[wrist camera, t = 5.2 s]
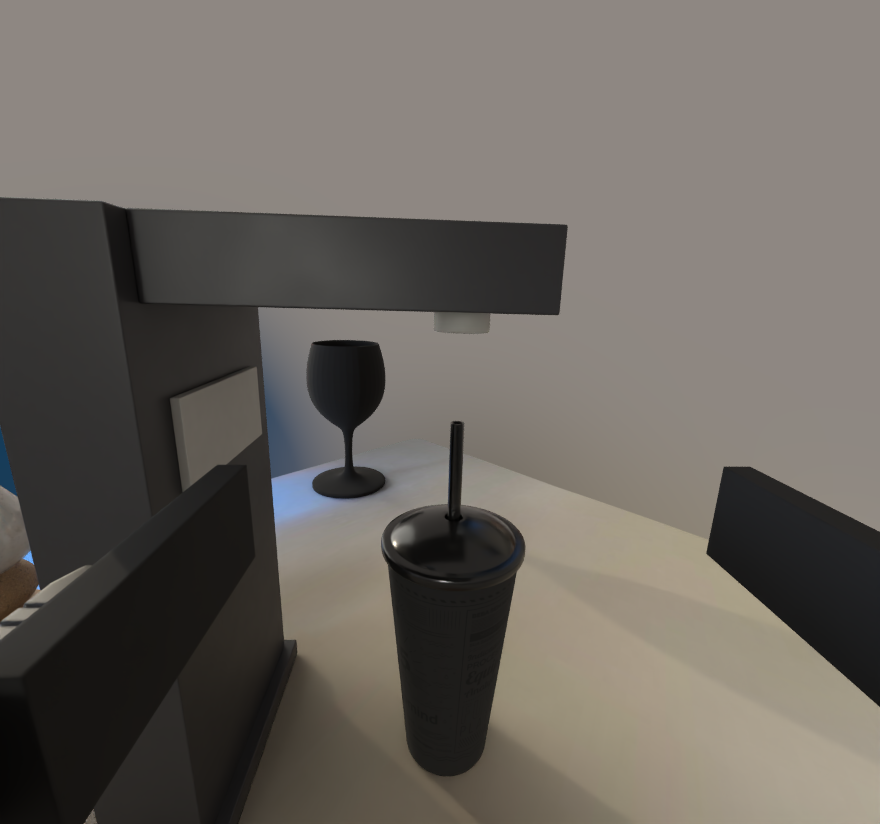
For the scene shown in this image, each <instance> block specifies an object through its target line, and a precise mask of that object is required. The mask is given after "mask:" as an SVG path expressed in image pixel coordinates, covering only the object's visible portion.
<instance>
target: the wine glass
mask: <svg viewBox="0 0 880 824" xmlns="http://www.w3.org/2000/svg"><path fill="white" fill-rule="evenodd" d="M307 387H308V392H309V395H310V398H311V400H312V402H313V404H314V406H315V407H316V408H317V410H318V411H319V412H320V413H321V414H322V415H323V416H324V417H325V418H326V419H327V420H329V421H330V422H331V423H333V424H334V425H336V426H338V427H339V428H340V429H341V430H342V432H343V435H344V442H345V467H341V468H335V469H331V470H328V471H325V472H323V473H321V474H319V475H318V476H316V477H315V478H314V480H313V482H312V485H313V489H314V490H315V491H316V492H317V493H319V494H321V495H324V496H327V497H333V498H356V497H362V496H366V495H369V494H372V493H374V492H376V491H378V490H380V489H381V488H382V487H383V486H384V484H385V477H384V475H383V474H382V473H380V472H379V471H377V470H374V469H371V468H366V467H353V460H352V437H353V432H354V429H355V428H356V427H357V426H359V425H360V424H361V423H363V422H364V421H365V420H366V419H367V418H369V417H370V416H371V415H372V414H373V412H374V411H375V410H376V408H377V407H378V406H379V404H380V402H381V400H382V397H383V394H384V389H385V368H384V362H383V358H382V353H381V350H380V347H379V344H378V343H375V342H369V341H355V340H330V341H318V342H313V343H312V344H311V348H310V352H309V357H308V362H307Z"/></svg>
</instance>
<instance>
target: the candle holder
mask: <svg viewBox="0 0 880 824" xmlns="http://www.w3.org/2000/svg"><path fill="white" fill-rule="evenodd" d="M30 551H31V550H30V546H29V541H28V537H27V533H26V529H25V525H24V521H23V517H22V513H21V509H20V504H19V500H18V497H17V496H15V495H14V494H12V493H11V492H9V491H8V490H6V489H5V488H3V487H2V486H0V622H1V621H2V620H3V619H5V618H6V617H7V616H8V615H10V614H11V613H12V612H14V611H15V610H16V609H18V608H23V606H24V603H25V602H27V601H28V600H29V599H31V598H32V597H33V596H35V595H36V594H37V593H39V592H40V590H38V589H36V588H37V586H38V584H39V583H38V578H37V574H36V570H35V566H34V565H33V564H32V563H30V562H29V561H27V560H24V559H23V558H24V557H25V556H26V555H27V554H28V553H29V552H30Z"/></svg>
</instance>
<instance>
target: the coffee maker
mask: <svg viewBox="0 0 880 824" xmlns="http://www.w3.org/2000/svg"><path fill="white" fill-rule="evenodd" d="M567 228H568V227H567V225H560V224H533V223H507V222H481V221H453V220H428V219H401V218H376V217H350V216H323V215H297V214H296V215H295V214H270V213H242V212H218V211H192V210H165V209H139V208H127V209H125V208H122V207H119V206H116V205H113V204H109V203H106V202H103V201H88V200H87V201H86V200H62V199H36V198H11V197H10V198H9V197H0V426H1V430H2V434H3V439H4V443H5V447H6V451H7V455H8V459H9V463H10V467H11V471H12V475H13V480H14V484H15V488H16V492H17V496H18V500H19V504H20V509H21V513H22V517H23V521H24V525H25V529H26V533H27V537H28V541H29V546H30V550H31V554H32V558H33V562H34V566H35V570H36V574H37V578H38V583H39V587H40V591H41V590H42V589H44V588H45V587H46V586H48V585H49V584H50V583H52V582H54V581H56V580H58V579H60V578H62V577H63V576H65V575H67V574H69V573H71V572H73V571H75V570H77V569H79V568H81V567H83V566H85V565H93V564H95V563H96V562H97V561H98V560H100V559H101V558H102V557H103V556H105V555H106V554H107V553H108V552H110V551H111V550H112V549H113V548H115V547H116V546H117V545H118V544H119V543H121V542H122V541H123V540H124V539H126V538H127V537H128V536H129V535H131V534H132V533H133V532H134V531H136V530H137V529H138V528H139V527H141V526H142V525H143V524H144V523H145V522H147V521H148V520H149V519H150V518H152V517H153V516H154V515H155V514H157V513H158V512H159V511H160V510H162V509H163V508H164V507H165V506H167V505H168V504H169V503H170V502H172V501H173V500H174V499H175V498H176V497H178V496H179V495H180V494H181V493H183V492H184V491H185V490H186V489H188V488H189V487H190V486H191V485H193V484H194V483H195V482H196V481H198V480H199V479H200V478H201V477H202V476H204V475H205V474H206V473H207V472H209V471H210V470H211V469H212V468H214V467H215V466H216V465H247V473H248V484H249V494H250V504H251V514H252V525H253V535H254V545H255V555H256V557H255V558H254V560H253V561H252V563H251V564H250V566H249V567H248V569H247V571H246V572H245V574H244V575H243V577H242V578H241V580H240V581H239V583H238V585H237V586H236V588H235V589H234V591H233V592H232V594H231V595H230V597H229V598H228V600H227V602H226V603H225V605H224V606H223V608H222V609H221V611H220V612H219V614H218V616H217V617H216V619H215V620H214V622H213V623H212V625H211V626H210V628H209V630H208V631H207V633H206V634H205V636H204V637H203V639H202V640H201V642H200V644H199V645H198V647H197V648H196V650H195V651H194V653H193V654H192V656H191V657H190V659H189V661H188V662H187V664H186V665H185V667H184V668H183V670H182V671H181V673H180V675H179V676H178V678H177V679H176V681H175V682H174V684H173V685H172V687H171V689H170V690H169V692H168V693H167V695H166V696H165V698H164V699H163V701H162V703H161V704H160V706H159V707H158V709H157V710H156V712H155V713H154V715H153V717H152V718H151V720H150V721H149V723H148V724H147V726H146V727H145V729H144V730H143V732H142V734H141V735H140V737H139V738H138V740H137V741H136V743H135V744H134V746H133V748H132V749H131V751H130V752H129V754H128V755H127V757H126V758H125V760H124V762H123V763H122V765H121V766H120V768H119V769H118V771H117V772H116V774H115V776H114V777H113V779H112V780H111V782H110V783H109V785H108V786H107V788H106V789H105V791H104V793H103V794H102V796H101V797H100V799H99V800H98V802H97V803H96V805H95V807H94V813H95V817H96V821H97V824H238V822H239V819H240V816H241V813H242V810H243V807H244V804H245V801H246V799H247V796H248V793H249V790H250V787H251V784H252V781H253V778H254V776H255V773H256V770H257V767H258V764H259V761H260V758H261V755H262V753H263V750H264V747H265V744H266V741H267V738H268V735H269V732H270V730H271V727H272V724H273V721H274V718H275V715H276V712H277V709H278V707H279V704H280V701H281V698H282V695H283V692H284V689H285V686H286V684H287V681H288V678H289V675H290V672H291V669H292V666H293V663H294V661H295V658H296V655H297V641H296V640H284V636H283V624H282V611H281V598H280V585H279V573H278V560H277V547H276V534H275V522H274V509H273V496H272V483H271V472H270V471H271V470H270V459H269V445H268V433H267V419H266V408H265V395H264V383H263V382H264V381H263V368H262V356H261V343H260V330H259V317H258V307H275V308H311V309H312V308H313V309H349V310H385V311H386V310H387V311H388V310H389V311H422V312H423V311H424V312H434V331H437V332H445V333H463V334H479V333H488V332H489V328H490V313H495V314H532V315H533V314H535V315H559V311H560V300H561V290H562V279H563V269H564V259H565V249H566V238H567Z"/></svg>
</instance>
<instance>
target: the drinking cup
mask: <svg viewBox="0 0 880 824" xmlns="http://www.w3.org/2000/svg"><path fill="white" fill-rule="evenodd" d="M450 432H451V433H450V460H449V489H448V504H442V505H431V506H425V507H421V508H417V509H413V510H411V511H408V512H406V513H404V514H401V515H400V516H398V517H396V518H395V519H394V520H393V521H391V522H390V523H389V525H388V526H387V527H386V529H385V530H384V532H383V535H382V539H381V549H382V554H383V557H384V559H385V561H386V562H387V564H388V569H389V578H390V588H391V597H392V606H393V616H394V625H395V634H396V644H397V653H398V662H399V671H400V681H401V690H402V699H403V709H404V718H405V727H406V737H407V744H408V748H409V750H410V753H411V755H412V756H413V758H414V759H415V761H416V762H417V763H418V764H419V765H420V766H421V767H422V768H424V769H425V770H427V771H429V772H431V773H433V774H436V775H440V776H454V775H458V774H461V773H464V772H466V771H467V770H469V769H470V768H471V767H473V766H474V765H475V764H476V762H477V761H478V760H479V758H480V757H481V754H482V752H483V749H484V745H485V740H486V735H487V729H488V724H489V718H490V713H491V708H492V702H493V697H494V691H495V686H496V681H497V675H498V670H499V665H500V659H501V654H502V648H503V643H504V638H505V632H506V627H507V621H508V616H509V611H510V605H511V600H512V594H513V589H514V584H515V578H516V573H517V571H518V570H519V568H520V567H521V565H522V563H523V561H524V557H525V542H524V539H523V536H522V534H521V533H520V531H519V530H518V529H517V528H516V527H515V526H514V525H513V524H512V523H511V522H509V521H508V520H507V519H505V518H503V517H501V516H500V515H497V514H495V513H493V512H490V511H487V510H484V509H481V508H476V507H472V506H465V505H461V488H462V465H463V442H464V441H463V439H464V422H461V421H453V422H451V431H450Z"/></svg>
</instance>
